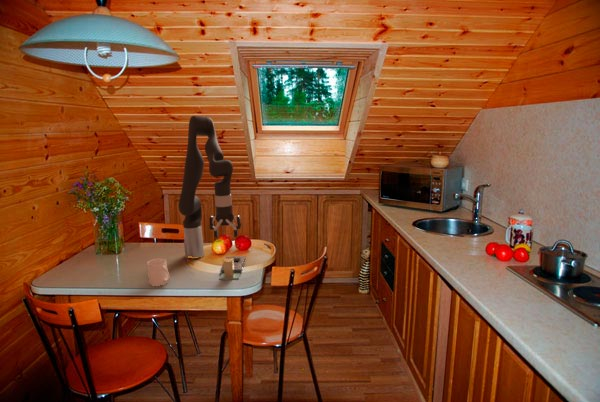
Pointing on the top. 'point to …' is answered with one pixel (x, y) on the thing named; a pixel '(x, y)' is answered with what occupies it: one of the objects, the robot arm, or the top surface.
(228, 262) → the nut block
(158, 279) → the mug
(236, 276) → the pad
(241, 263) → the rail plate
